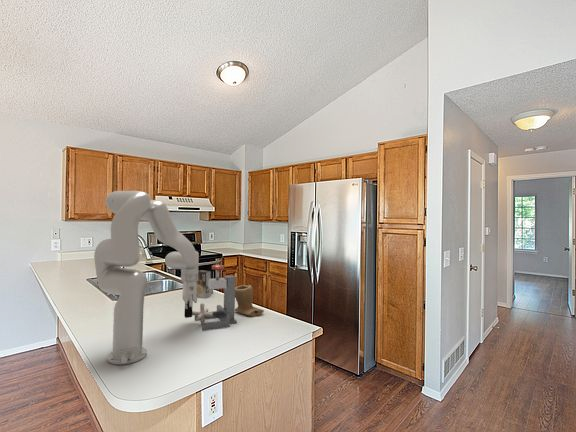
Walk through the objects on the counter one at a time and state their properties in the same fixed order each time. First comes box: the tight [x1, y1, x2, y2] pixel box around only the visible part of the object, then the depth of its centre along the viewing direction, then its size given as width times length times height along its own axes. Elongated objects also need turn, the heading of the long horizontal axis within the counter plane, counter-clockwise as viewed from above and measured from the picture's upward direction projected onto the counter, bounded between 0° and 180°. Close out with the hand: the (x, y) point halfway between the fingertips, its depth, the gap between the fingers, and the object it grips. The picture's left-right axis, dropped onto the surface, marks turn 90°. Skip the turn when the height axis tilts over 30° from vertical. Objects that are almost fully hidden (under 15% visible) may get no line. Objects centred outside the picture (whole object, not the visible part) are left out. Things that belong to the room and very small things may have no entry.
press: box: [194, 274, 238, 332], centre depth 149 cm, size 16×17×22 cm
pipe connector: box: [192, 302, 213, 326], centre depth 146 cm, size 10×10×10 cm
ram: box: [208, 264, 226, 295], centre depth 149 cm, size 6×7×13 cm
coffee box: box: [196, 269, 212, 299], centre depth 196 cm, size 9×6×16 cm
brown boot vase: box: [235, 284, 265, 317], centre depth 164 cm, size 15×12×15 cm
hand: (188, 316), depth 143 cm, fingers closed
